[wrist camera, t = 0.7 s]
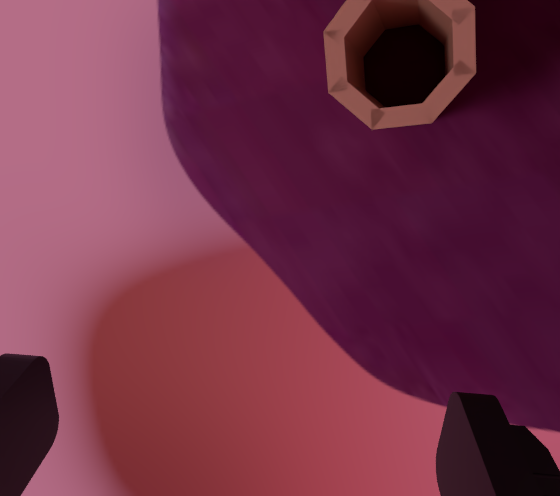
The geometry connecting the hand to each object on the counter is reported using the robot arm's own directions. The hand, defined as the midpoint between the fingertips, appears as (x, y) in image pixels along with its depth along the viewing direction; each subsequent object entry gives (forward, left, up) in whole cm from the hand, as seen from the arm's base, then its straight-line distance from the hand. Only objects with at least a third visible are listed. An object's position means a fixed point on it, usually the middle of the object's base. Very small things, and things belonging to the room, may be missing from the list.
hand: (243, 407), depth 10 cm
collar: (-9, +1, -23) cm, 25 cm away
